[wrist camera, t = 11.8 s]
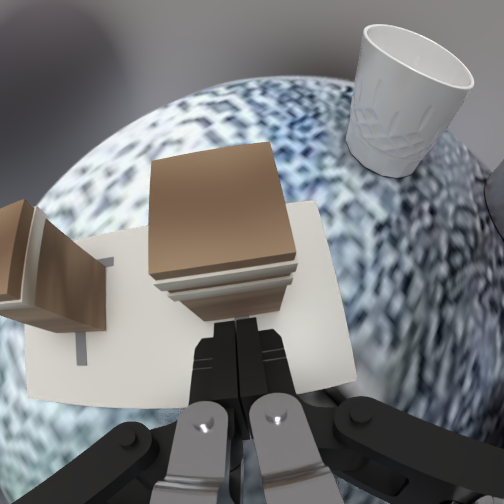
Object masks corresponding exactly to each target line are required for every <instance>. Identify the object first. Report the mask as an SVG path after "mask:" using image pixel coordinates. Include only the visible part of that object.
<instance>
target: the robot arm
mask: <svg viewBox="0 0 504 504" xmlns="http://www.w3.org/2000/svg"><path fill="white" fill-rule="evenodd" d="M485 197H486V202H487V206H488V209H489V212H490V214H491V217H492V219H493V221H494V223H495V225H496V227H497V229H498V231H499V232H500V234H501V235H502V237H503V238H504V160H503V161H502V162H501V163H500V165H499V166H498V167H497V168H496V169H495V170H494V172H493V173H492V174H491V175H490V176H489V177H488V179H487V181H486V184H485ZM249 430H250V434H251V437H252V439H254V442H255V447H256V452H257V457H258V462H259V466H260V471H261V476H262V483H263V489H264V493H265V498H266V502H267V504H344V502H343V499H342V497H341V494H340V491H339V489H338V486H337V484H336V481H335V479H334V476H333V474H332V473H334V474H335V475H337V476H338V477H340V478H342V479H344V480H346V481H347V482H349V483H351V484H353V485H355V486H356V487H358V488H360V489H362V490H364V491H366V492H368V493H370V494H372V495H374V496H376V497H378V498H380V499H382V500H384V501H386V502H388V503H390V504H504V449H502V448H499V447H496V446H492V445H489V444H486V443H483V442H480V441H477V440H474V439H471V438H468V437H466V436H463V435H460V434H457V433H455V432H452V431H449V430H447V429H444V428H441V427H439V426H436V425H434V424H431V423H429V422H426V421H424V420H421V419H419V418H416V417H414V416H412V415H409V414H407V413H405V412H402V411H400V410H398V409H395V408H393V407H391V406H389V405H386V404H384V403H382V402H380V401H378V400H375V399H373V398H370V397H364V396H359V397H353V398H350V399H347V400H345V401H344V402H342V403H341V404H340V405H339V406H338V408H323V407H315V406H311V405H309V404H307V403H305V402H303V401H302V400H301V399H300V398H299V397H298V395H297V394H296V391H295V388H294V384H293V380H292V376H291V372H290V368H289V364H288V361H287V357H286V353H285V349H284V345H283V341H282V337H281V336H280V335H279V334H278V333H277V332H276V331H275V330H274V329H267V330H261V331H258V326H257V319H256V317H253V318H246V319H239V320H236V323H235V320H232V321H225V322H217V323H214V333H213V337H209V338H202V339H201V340H200V342H199V343H198V344H197V346H196V347H195V351H194V361H193V371H192V376H191V385H190V395H189V404H188V407H186V408H185V409H184V410H183V411H182V412H181V413H180V415H179V417H178V420H177V421H175V422H173V423H171V424H169V425H166V426H162V427H159V428H155V429H151V430H149V429H148V428H147V427H146V426H145V425H143V424H141V423H139V422H124V423H121V424H119V425H117V426H116V427H115V428H113V429H112V430H111V431H110V432H108V433H107V434H106V435H104V436H103V437H102V438H101V439H99V440H98V441H97V442H96V443H94V444H93V445H92V446H90V447H89V448H88V449H87V450H85V451H84V452H83V453H81V454H80V455H79V456H77V457H76V458H75V459H74V460H72V461H71V462H70V463H68V464H67V465H66V466H64V467H63V468H62V469H60V470H59V471H57V472H56V473H55V474H53V475H52V476H51V477H49V478H48V479H46V480H45V481H44V482H42V483H41V484H39V485H38V486H37V487H35V488H34V489H32V490H31V491H30V492H28V493H27V494H25V495H24V496H22V497H21V498H19V499H18V500H16V501H15V502H13V503H12V504H243V483H244V458H243V443H242V440H249V439H250V435H249Z"/></svg>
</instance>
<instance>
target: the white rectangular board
mask: <svg viewBox="0 0 504 504" xmlns="http://www.w3.org/2000/svg"><path fill="white" fill-rule="evenodd" d="M286 208H287V213H288V217H289V221H290V225H291V230H292V234H293V238H294V243H295V247H296V254H297V259H298V266H297V269H296V272H293V281H292V284H291V285H287V287H286V291H285V294H284V297H283V301H282V304H281V307H280V311H274V312H268V313H262V314H255V315H249V316H242V317H235V318H228V319H220V320H212V321H203V320H202V319H200V318H199V317H198V316H197V315H195V314H194V313H193V312H192V311H191V310H189V309H188V308H187V307H186V306H185V305H183V304H182V303H181V302H180V301H175V302H174V301H173V300H171V299H170V298H169V297H168V296H167V291H162V292H161V291H160V290H159V289H158V288H157V287H155V286H154V285H153V278H152V277H151V276H150V275H149V274H148V225H147V226H142V227H136V228H131V229H126V230H121V231H116V232H111V233H106V234H101V235H96V236H92V237H87V238H82V239H78V240H73V242H75V243H76V244H77V245H78V246H80V247H81V248H82V249H83V250H85V251H86V252H87V253H89V254H90V255H91V256H92V257H94V258H95V259H96V260H98V261H99V262H100V263H102V264H103V265H104V266H105V331H93V332H72V333H54V332H51V331H47V330H44V329H40V328H37V327H34V326H30V325H27V324H25V368H26V382H27V392H28V398H32V399H38V400H44V401H51V402H58V403H65V404H74V405H84V406H95V407H110V408H139V409H161V408H186V407H188V404H189V395H190V385H191V376H192V371H193V361H194V351H195V347H196V346H197V344H198V343H199V342H200V340H201V339H202V338H209V337H213V333H214V323H217V322H225V321H232V320H235V323H236V320H239V319H246V318H253V317H256V319H257V326H258V331H261V330H267V329H274V330H275V331H276V332H277V333H278V334H279V335H280V336H281V337H282V341H283V345H284V349H285V353H286V357H287V361H288V364H289V368H290V372H291V376H292V380H293V384H294V388H295V391H296V394H302V393H307V392H311V391H316V390H321V389H325V388H329V387H334V386H338V385H342V384H346V383H349V382H353V381H357V375H356V369H355V364H354V358H353V353H352V347H351V342H350V337H349V332H348V327H347V322H346V318H345V313H344V308H343V304H342V300H341V295H340V291H339V287H338V282H337V278H336V274H335V270H334V266H333V262H332V258H331V254H330V250H329V247H328V243H327V239H326V235H325V232H324V228H323V225H322V221H321V218H320V214H319V211H318V207H317V204H316V200H311V201H303V202H295V203H287V204H286Z"/></svg>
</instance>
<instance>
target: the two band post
mask: <svg viewBox="0 0 504 504" xmlns="http://www.w3.org/2000/svg"><path fill="white" fill-rule="evenodd" d="M297 266H298V259H297V254H296V247H295V243H294V238H293V234H292V230H291V225H290V221H289V217H288V213H287V208H286V204H285V200H284V196H283V192H282V188H281V184H280V180H279V176H278V172H277V168H276V164H275V160H274V156H273V153H272V149H271V145H270V142H262V143H253V144H246V145H238V146H231V147H224V148H218V149H212V150H206V151H200V152H194V153H189V154H184V155H179V156H174V157H169V158H164V159H159V160H155V161H152V163H151V177H150V195H149V222H148V274H149V275H150V276H151V277H152V278H153V285H154V286H155V287H157V288H158V289H159V290H160V291H161V292H162V291H167V296H168V297H169V298H170V299H171V300H173V301H174V302H175V301H180V302H181V303H182V304H183V305H185V306H186V307H187V308H188V309H189V310H191V311H192V312H193V313H194V314H195V315H197V316H198V317H199V318H200V319H202V320H203V321H212V320H220V319H228V318H235V317H242V316H249V315H255V314H262V313H268V312H274V311H280V307H281V304H282V301H283V297H284V294H285V291H286V287H287V285H291V284H292V281H293V272H296V269H297Z"/></svg>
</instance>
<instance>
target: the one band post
mask: <svg viewBox="0 0 504 504" xmlns="http://www.w3.org/2000/svg"><path fill="white" fill-rule="evenodd" d="M0 315H1V316H4V317H6V318H9V319H12V320H15V321H18V322H21V323H24V324H27V325H30V326H34V327H37V328H40V329H44V330H47V331H51V332H54V333H72V332H93V331H105V266H104V265H103V264H102V263H100V262H99V261H98V260H96V259H95V258H94V257H92V256H91V255H90V254H89V253H87V252H86V251H85V250H83V249H82V248H81V247H80V246H78V245H77V244H76V243H75V242H73V241H72V240H71V239H70V238H69V237H67V236H66V235H65V234H64V233H62V232H61V231H60V230H59V229H58V228H57V227H55V226H54V225H53V224H52V223H51V222H50V221H48V220H47V219H46V214H45V213H44V212H43V211H42V210H41V209H39V208H38V207H37V206H35V207H32V206H31V205H30V204H29V203H28V202H27V201H26V200H25V199H23V200H21V201H18V202H16V203H13V204H11V205H8V206H5V207H3V208H1V209H0Z"/></svg>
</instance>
